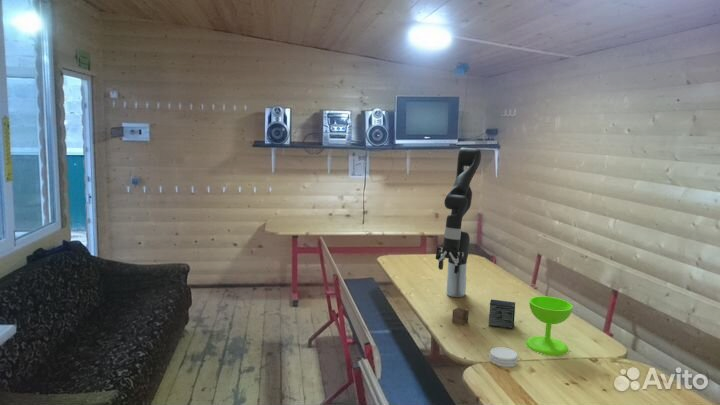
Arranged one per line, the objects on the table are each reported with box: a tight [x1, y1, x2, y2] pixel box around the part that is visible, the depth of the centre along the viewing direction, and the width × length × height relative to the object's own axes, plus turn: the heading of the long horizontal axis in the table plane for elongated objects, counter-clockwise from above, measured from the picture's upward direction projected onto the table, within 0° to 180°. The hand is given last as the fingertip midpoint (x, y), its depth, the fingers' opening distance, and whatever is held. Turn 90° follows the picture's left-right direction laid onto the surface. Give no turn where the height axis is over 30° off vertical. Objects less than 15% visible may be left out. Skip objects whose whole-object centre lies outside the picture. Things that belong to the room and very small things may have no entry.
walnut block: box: [451, 306, 470, 327], centre depth 218 cm, size 5×5×6 cm
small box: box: [488, 299, 516, 331], centre depth 216 cm, size 11×6×10 cm, turn 71°
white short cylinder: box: [489, 346, 519, 368], centre depth 183 cm, size 10×10×4 cm
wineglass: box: [525, 295, 574, 357], centre depth 195 cm, size 16×16×18 cm
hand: (448, 271), depth 233 cm, fingers open, 8 cm apart
